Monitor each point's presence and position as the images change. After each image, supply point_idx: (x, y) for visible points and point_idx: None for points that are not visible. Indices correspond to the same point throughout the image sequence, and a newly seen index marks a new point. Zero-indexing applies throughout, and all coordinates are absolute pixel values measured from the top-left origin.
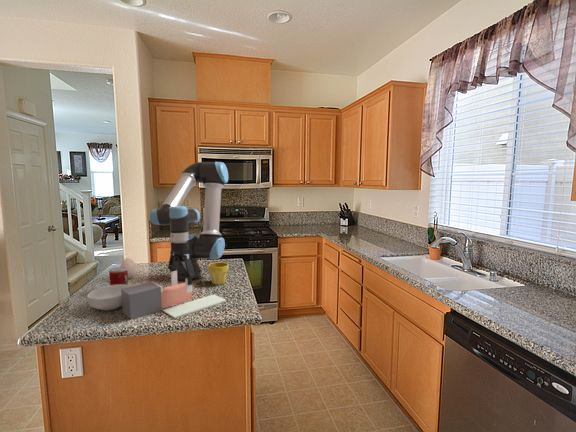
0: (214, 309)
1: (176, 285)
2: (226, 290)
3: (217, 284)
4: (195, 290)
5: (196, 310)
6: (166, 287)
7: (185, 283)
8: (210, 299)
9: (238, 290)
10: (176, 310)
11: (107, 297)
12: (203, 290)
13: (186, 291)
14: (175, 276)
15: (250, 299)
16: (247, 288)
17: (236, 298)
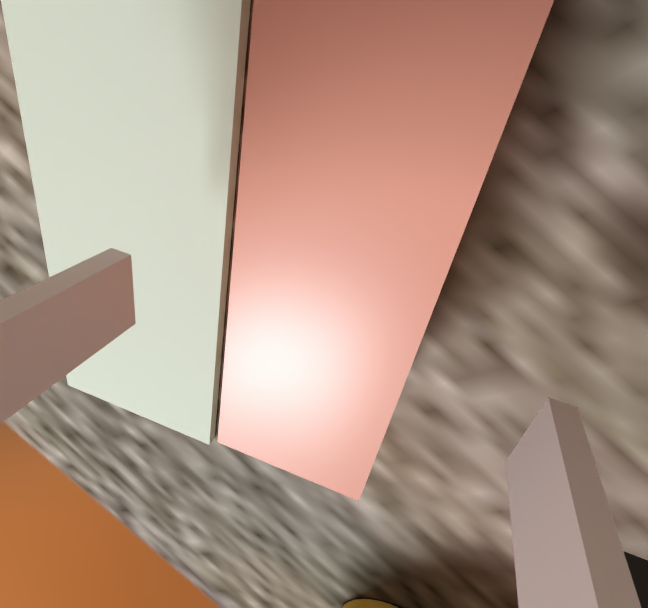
0: (2, 241)
1: (362, 358)
2: (226, 521)
3: (361, 599)
4: (431, 495)
5: (31, 143)
6: (450, 207)
7: (12, 316)
8: (142, 360)
9: (172, 527)
10: (122, 9)
11: None
12: (366, 503)
13: (98, 255)
14: (536, 586)
15: (23, 434)
16: (162, 555)
17: (78, 429)
